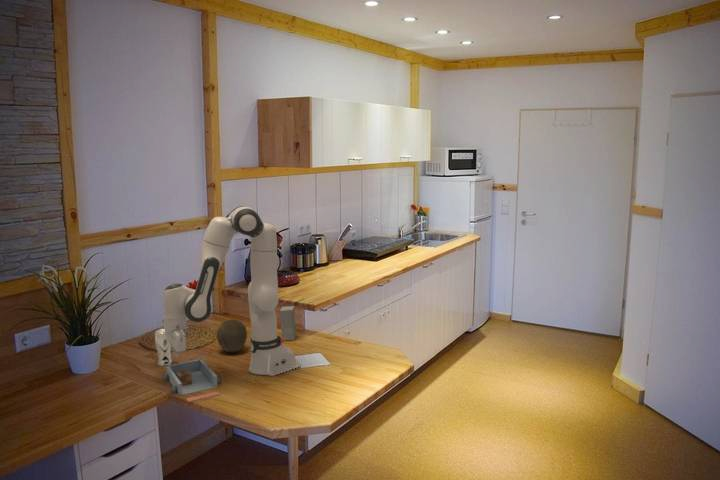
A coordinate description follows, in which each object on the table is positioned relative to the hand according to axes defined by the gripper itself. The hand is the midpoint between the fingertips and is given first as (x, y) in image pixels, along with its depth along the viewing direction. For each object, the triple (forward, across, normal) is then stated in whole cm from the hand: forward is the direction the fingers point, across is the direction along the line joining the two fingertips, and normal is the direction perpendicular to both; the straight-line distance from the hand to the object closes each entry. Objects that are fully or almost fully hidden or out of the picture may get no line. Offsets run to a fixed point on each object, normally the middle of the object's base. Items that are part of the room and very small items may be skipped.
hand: (176, 355), depth 237 cm
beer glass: (+11, +22, 0) cm, 25 cm away
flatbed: (+10, -8, -4) cm, 14 cm away
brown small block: (+9, -8, -1) cm, 12 cm away
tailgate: (+10, -20, -4) cm, 22 cm away
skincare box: (+9, +24, -61) cm, 66 cm away
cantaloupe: (+10, +21, -31) cm, 39 cm away
